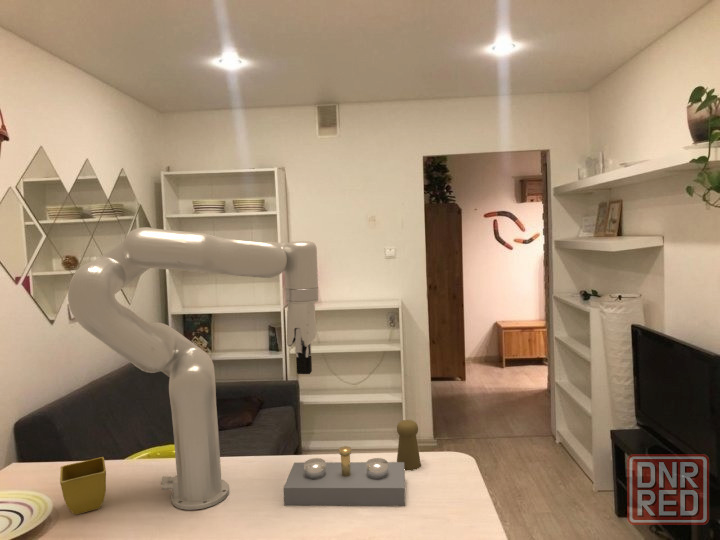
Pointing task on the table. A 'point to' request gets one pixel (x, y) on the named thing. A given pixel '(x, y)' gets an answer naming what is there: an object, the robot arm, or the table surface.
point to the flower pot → (84, 485)
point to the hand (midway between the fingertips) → (304, 372)
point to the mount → (345, 487)
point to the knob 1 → (314, 468)
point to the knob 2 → (377, 468)
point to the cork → (408, 445)
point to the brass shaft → (345, 460)
